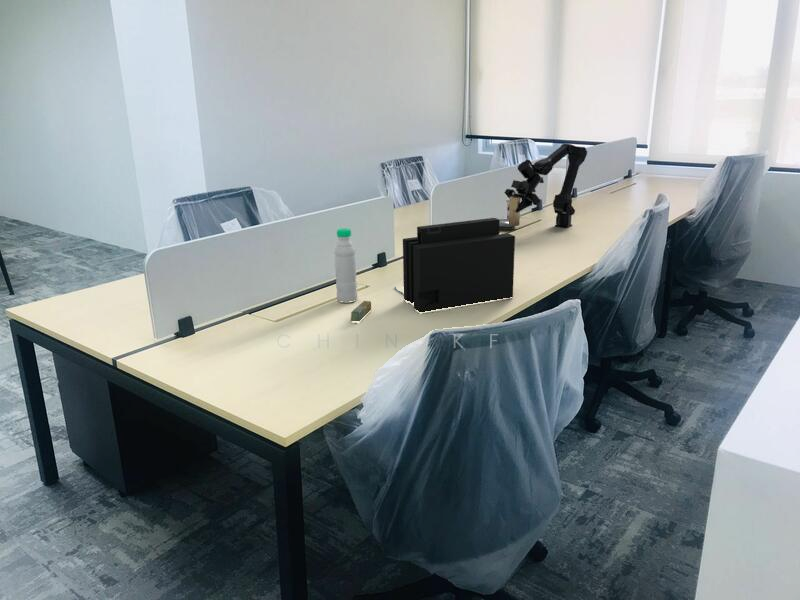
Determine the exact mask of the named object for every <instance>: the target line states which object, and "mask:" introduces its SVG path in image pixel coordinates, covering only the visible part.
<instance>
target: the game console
mask: <svg viewBox="0 0 800 600" xmlns="http://www.w3.org/2000/svg"><path fill="white" fill-rule="evenodd" d="M499 219H500V218H497V217H488V218H479V219H471V220H463V221H455V222H446V223H437V224H430V225H421V226H420V225H419V226H417V227H416V235H417V236H416V237H415V236H413V237H407V238H406V237H405V238H402V265H403V266H402V267H403V269H402V270H403V271H402V272H403V286H404V295H403V300H404V299H405V300H407V301H410V302H411V303H413V302H414V306H413V309H414V308H415V309H416V310H418V311H419V312H425V311H431V310H436V309H442V308H448V307H455V306H461V305H466V304H473V303H478V302H485V301H490V300H497V299H503V298H510V297H513V298H514V275H515V274H514V272H515V246H516V245H515V243H516V236H515V235H513V234H511V233H502V234H500V230H499Z"/></svg>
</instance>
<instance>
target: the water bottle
mask: <svg viewBox="0 0 800 600" xmlns="http://www.w3.org/2000/svg"><path fill="white" fill-rule="evenodd" d="M336 236H337V239H338V240H337V243H336V246H335V247H334V250H333V251H334V256H335V257H334V268H335V269H334V270H335V278H336V283H335V284H336V285H335V286H336V300H337V302H339V301H343V302H349V301H354V300H356V299H357V300H358V290H357V289H358V284H357V283H358V282H357V261H356V248H355V246H354V244H353V242H352V241H351V237H352V231H351V229H350V228H347V227H346V228H345V227H344V228H339V229H337V230H336ZM357 300H356V301H357Z"/></svg>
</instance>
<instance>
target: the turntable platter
mask: <svg viewBox="0 0 800 600" xmlns="http://www.w3.org/2000/svg"><path fill="white" fill-rule="evenodd" d="M498 219H499V227H515V228H516V226H510V225H509V219H503V218H498Z"/></svg>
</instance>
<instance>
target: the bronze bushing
mask: <svg viewBox="0 0 800 600" xmlns="http://www.w3.org/2000/svg"><path fill="white" fill-rule="evenodd" d="M520 199H521V198H520V197H519V196H511V197H509V225H510V226H515V227H518V226H520V225H521V224H520V219H521V211H520V212H518V213H516V209H517V208H518V206H519V204H520V203H521V202H520Z"/></svg>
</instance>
